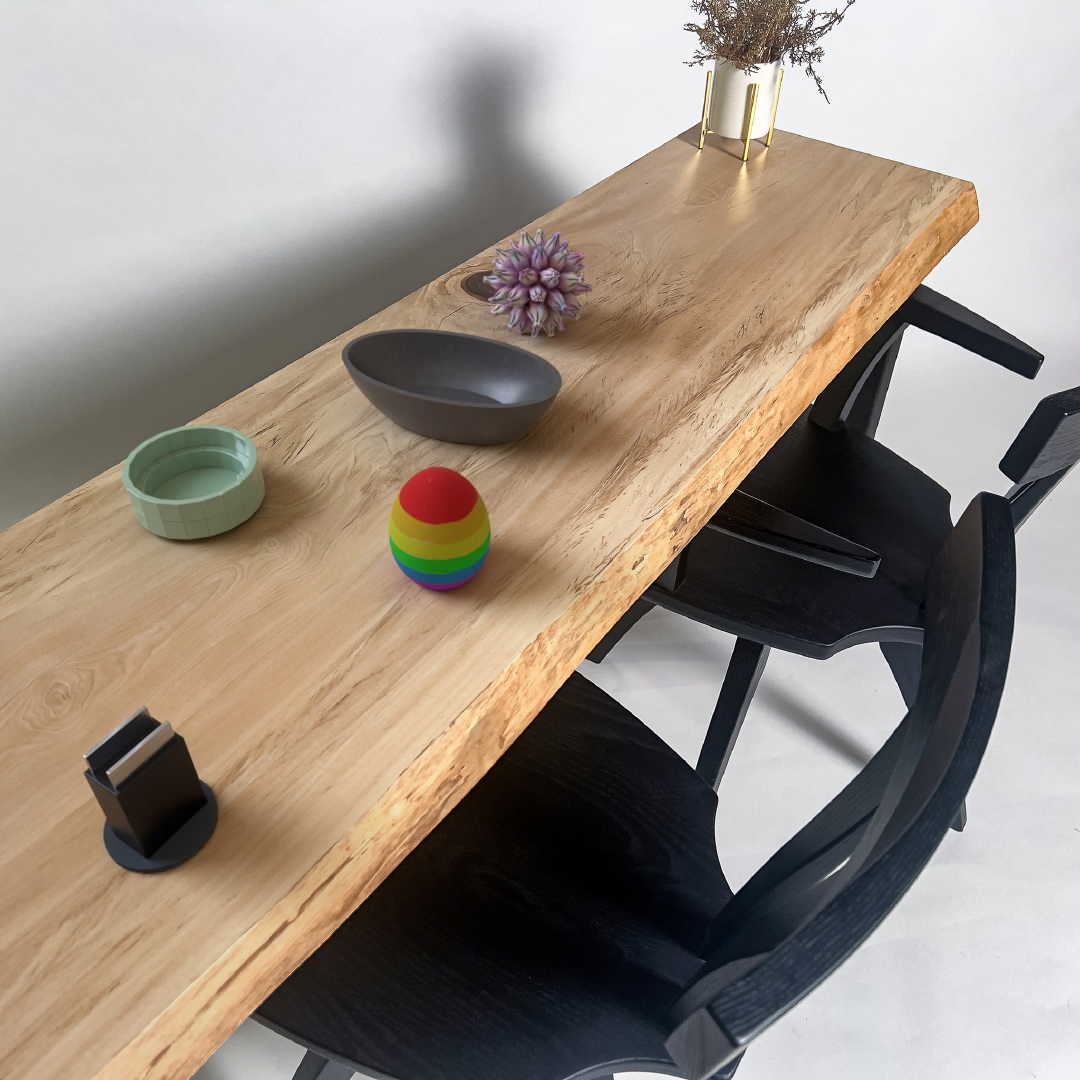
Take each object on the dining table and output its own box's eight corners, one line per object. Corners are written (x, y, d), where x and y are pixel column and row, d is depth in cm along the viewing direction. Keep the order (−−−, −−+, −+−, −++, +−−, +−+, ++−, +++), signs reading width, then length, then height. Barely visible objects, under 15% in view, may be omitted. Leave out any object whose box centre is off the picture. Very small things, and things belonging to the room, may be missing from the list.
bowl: (538, 478, 90) (539, 423, 85) (325, 430, 95) (316, 376, 90) (576, 408, 98) (579, 355, 94) (379, 368, 103) (373, 315, 99)
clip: (147, 860, 60) (108, 781, 54) (115, 836, 61) (74, 756, 55) (208, 801, 63) (178, 721, 57) (176, 780, 64) (143, 698, 59)
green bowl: (185, 563, 80) (173, 522, 77) (110, 506, 86) (95, 466, 83) (292, 498, 87) (284, 458, 84) (215, 448, 92) (205, 409, 89)
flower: (585, 322, 114) (590, 356, 104) (483, 316, 114) (478, 350, 103) (594, 221, 108) (600, 247, 98) (486, 215, 108) (482, 240, 98)
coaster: (146, 895, 59) (144, 891, 59) (83, 828, 62) (81, 824, 62) (240, 818, 63) (239, 813, 63) (176, 759, 66) (174, 754, 66)
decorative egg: (372, 569, 80) (359, 474, 74) (443, 522, 85) (437, 428, 78) (440, 618, 76) (433, 522, 70) (511, 566, 81) (511, 471, 74)
